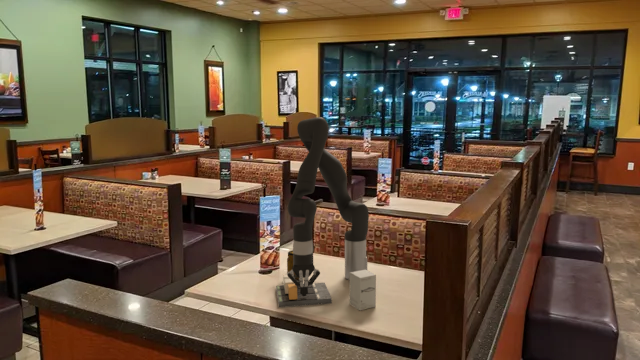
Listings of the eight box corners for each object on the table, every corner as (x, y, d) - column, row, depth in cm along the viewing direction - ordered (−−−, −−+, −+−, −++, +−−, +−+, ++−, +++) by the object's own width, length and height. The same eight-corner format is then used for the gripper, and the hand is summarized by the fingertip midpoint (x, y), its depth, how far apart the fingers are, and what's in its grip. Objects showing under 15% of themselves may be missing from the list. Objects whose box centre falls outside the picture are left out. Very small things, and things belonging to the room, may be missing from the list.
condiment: (296, 274, 216) (295, 248, 214) (307, 279, 209) (307, 252, 208) (282, 278, 211) (282, 251, 209) (294, 283, 205) (293, 256, 203)
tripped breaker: (296, 295, 186) (296, 283, 185) (297, 299, 182) (297, 287, 181) (288, 295, 185) (288, 284, 185) (289, 299, 181) (289, 288, 181)
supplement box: (359, 311, 176) (359, 278, 174) (349, 304, 183) (348, 271, 181) (376, 307, 180) (376, 274, 178) (365, 300, 186) (365, 268, 184)
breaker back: (290, 284, 197) (290, 273, 197) (291, 287, 193) (291, 276, 193) (283, 284, 197) (283, 273, 196) (284, 288, 193) (283, 277, 192)
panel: (324, 287, 200) (324, 282, 200) (331, 303, 184) (331, 297, 183) (276, 290, 197) (276, 285, 197) (278, 307, 181) (278, 301, 180)
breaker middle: (292, 289, 191) (291, 278, 191) (293, 293, 187) (292, 282, 187) (284, 290, 191) (284, 279, 190) (285, 293, 187) (285, 282, 186)
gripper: (319, 247, 186) (319, 290, 189) (284, 249, 184) (285, 292, 187) (322, 253, 179) (322, 297, 181) (286, 255, 177) (287, 300, 179)
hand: (303, 295), depth 184 cm, fingers closed
